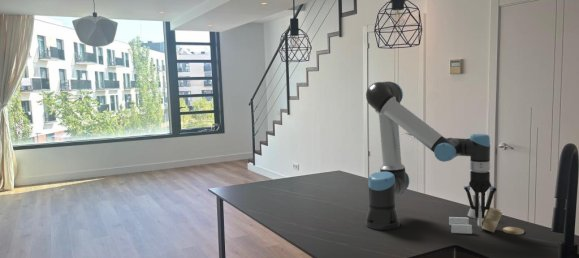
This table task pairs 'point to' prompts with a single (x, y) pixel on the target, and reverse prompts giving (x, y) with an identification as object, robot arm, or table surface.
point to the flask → (472, 211)
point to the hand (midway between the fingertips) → (479, 225)
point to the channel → (460, 225)
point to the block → (491, 219)
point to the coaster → (513, 230)
